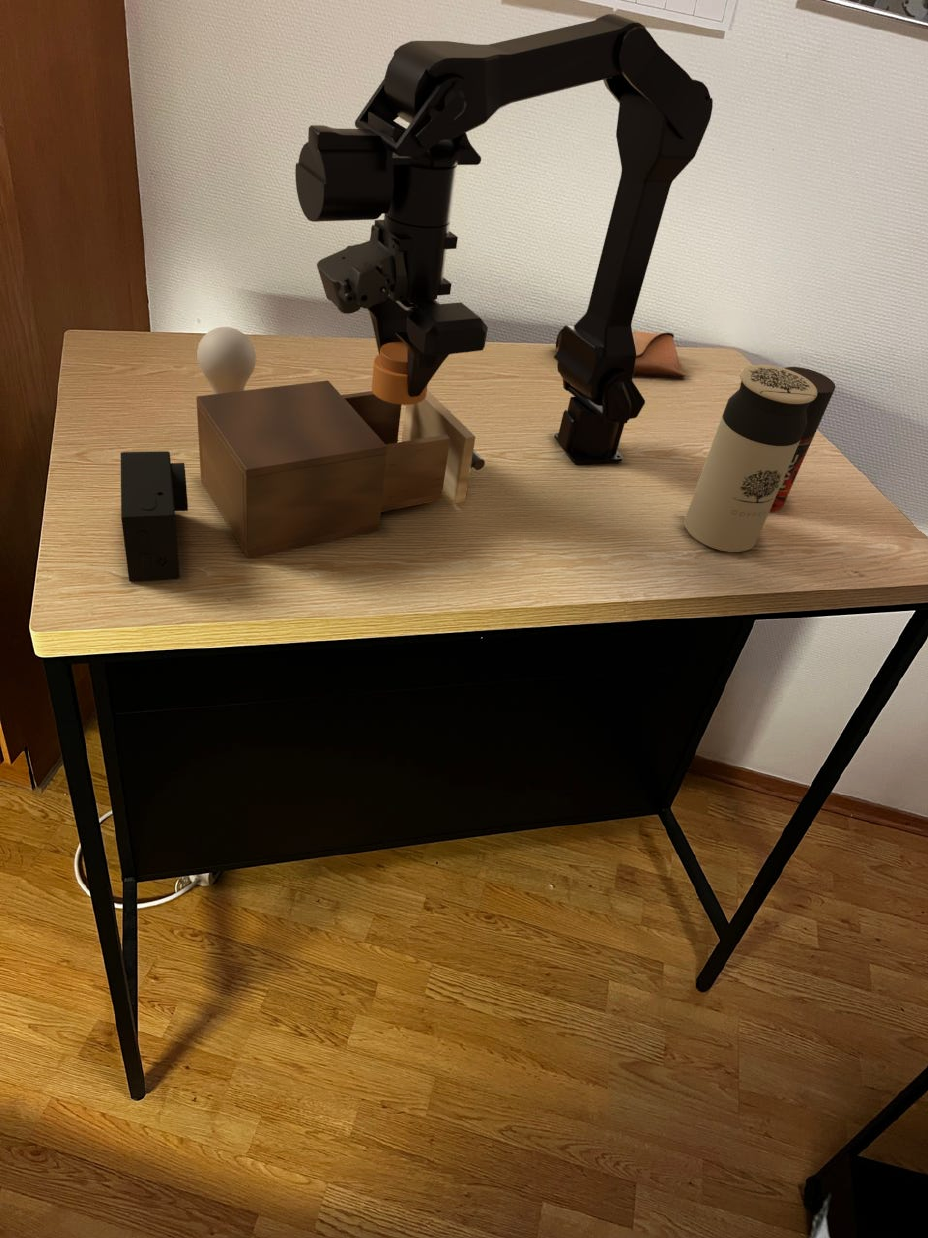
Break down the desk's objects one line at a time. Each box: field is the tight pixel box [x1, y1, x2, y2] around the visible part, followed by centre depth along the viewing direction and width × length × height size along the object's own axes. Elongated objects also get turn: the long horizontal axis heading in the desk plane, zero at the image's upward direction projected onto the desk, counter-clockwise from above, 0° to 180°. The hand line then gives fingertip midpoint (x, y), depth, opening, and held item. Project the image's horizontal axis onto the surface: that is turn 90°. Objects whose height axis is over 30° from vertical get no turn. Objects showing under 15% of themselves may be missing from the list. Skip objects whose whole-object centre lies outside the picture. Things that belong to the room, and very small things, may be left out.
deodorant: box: [769, 366, 836, 513], centre depth 101 cm, size 6×6×15 cm
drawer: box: [341, 389, 486, 513], centre depth 94 cm, size 17×12×8 cm
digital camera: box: [120, 450, 189, 582], centre depth 81 cm, size 10×5×7 cm, turn 17°
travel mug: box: [683, 364, 817, 553], centre depth 93 cm, size 8×8×18 cm
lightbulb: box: [196, 326, 257, 395], centre depth 98 cm, size 6×6×11 cm
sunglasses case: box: [555, 328, 687, 378], centre depth 128 cm, size 18×7×7 cm, turn 102°
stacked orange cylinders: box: [371, 342, 429, 406], centre depth 87 cm, size 5×5×4 cm
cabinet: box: [195, 380, 387, 559], centre depth 88 cm, size 14×14×10 cm
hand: (400, 382), depth 88 cm, fingers closed on stacked orange cylinders, 5 cm apart
